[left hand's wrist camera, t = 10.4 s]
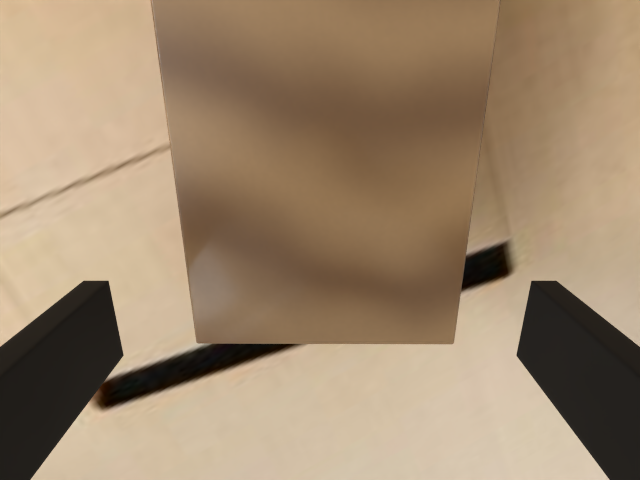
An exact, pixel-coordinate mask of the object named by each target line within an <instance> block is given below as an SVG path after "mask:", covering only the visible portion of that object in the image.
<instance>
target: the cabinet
mask: <svg viewBox="0 0 640 480" xmlns="http://www.w3.org/2000/svg"><path fill="white" fill-rule="evenodd" d="M500 1H501V0H151V6H152V13H153V21H154V28H155V36H156V43H157V51H158V58H159V65H160V73H161V80H162V88H163V95H164V103H165V110H166V118H167V125H168V133H169V140H170V148H171V155H172V163H173V170H174V178H175V185H176V192H177V200H178V207H179V215H180V222H181V230H182V237H183V245H184V252H185V260H186V267H187V275H188V282H189V290H190V297H191V305H192V312H193V319H194V327H195V334H196V342H197V343H241V344H453V343H454V338H455V330H456V323H457V316H458V308H459V301H460V294H461V286H462V279H463V272H464V264H465V257H466V250H467V242H468V235H469V228H470V220H471V213H472V206H473V199H474V191H475V184H476V177H477V169H478V162H479V155H480V147H481V140H482V133H483V125H484V118H485V111H486V103H487V96H488V89H489V81H490V74H491V67H492V59H493V52H494V45H495V37H496V30H497V23H498V15H499V8H500Z"/></svg>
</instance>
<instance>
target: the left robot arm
mask: <svg viewBox="0 0 640 480" xmlns="http://www.w3.org/2000/svg"><path fill="white" fill-rule="evenodd" d="M122 357H123V351H122V346H121V341H120V336H119V331H118V326H117V321H116V316H115V311H114V306H113V301H112V296H111V291H110V286H109V281H83V282H82V283H80V284H79V285H78V286H77V287H75V288H74V289H73V290H72V291H70V292H69V293H68V294H67V295H65V296H64V297H63V298H61V299H60V300H59V301H58V302H56V303H55V304H54V305H53V306H51V307H50V308H49V309H48V310H46V311H45V312H44V313H43V314H41V315H40V316H39V317H37V318H36V319H35V320H34V321H32V322H31V323H30V324H29V325H27V326H26V327H25V328H24V329H22V330H21V331H20V332H19V333H17V334H16V335H15V336H14V337H12V338H11V339H10V340H8V341H7V342H6V343H5V344H3V345H2V346H1V347H0V480H30V479H31V478H32V477H33V475H34V474H35V473H36V471H37V470H38V469H39V467H40V466H41V465H42V463H43V462H44V461H45V459H46V458H47V457H48V455H49V454H50V453H51V451H52V450H53V449H54V447H55V446H56V445H57V443H58V442H59V441H60V439H61V438H62V437H63V435H64V434H65V433H66V431H67V430H68V429H69V427H70V426H71V425H72V423H73V422H74V421H75V419H76V418H77V417H78V415H79V414H80V413H81V411H82V410H83V409H84V407H85V406H86V405H87V403H88V402H89V401H90V399H91V398H92V397H93V395H94V394H95V393H96V391H97V390H98V389H99V387H100V386H101V385H102V383H103V382H104V381H105V379H106V378H107V377H108V375H109V374H110V373H111V371H112V370H113V369H114V367H115V366H116V365H117V363H118V362H119V361H120V359H121V358H122ZM517 357H518V358H519V359H520V361H521V362H522V363H523V365H524V366H525V367H526V369H527V370H528V371H529V373H530V374H531V375H532V377H533V378H534V379H535V381H536V382H537V383H538V385H539V386H540V387H541V389H542V390H543V391H544V393H545V394H546V395H547V397H548V398H549V399H550V401H551V402H552V403H553V405H554V406H555V407H556V409H557V410H558V411H559V413H560V414H561V415H562V417H563V418H564V419H565V421H566V422H567V423H568V425H569V426H570V427H571V429H572V430H573V431H574V433H575V434H576V435H577V437H578V438H579V439H580V441H581V442H582V443H583V445H584V446H585V447H586V449H587V450H588V451H589V453H590V454H591V455H592V457H593V458H594V459H595V461H596V462H597V463H598V465H599V466H600V467H601V469H602V470H603V471H604V473H605V474H606V475H607V477H608V478H609V479H610V480H640V347H639V346H638V345H637V344H635V343H634V342H633V341H632V340H630V339H629V338H628V337H626V336H625V335H624V334H623V333H621V332H620V331H619V330H618V329H616V328H615V327H614V326H613V325H611V324H610V323H609V322H608V321H606V320H605V319H604V318H602V317H601V316H600V315H599V314H597V313H596V312H595V311H594V310H592V309H591V308H590V307H589V306H587V305H586V304H585V303H584V302H582V301H581V300H580V299H579V298H577V297H576V296H575V295H573V294H572V293H571V292H570V291H568V290H567V289H566V288H565V287H563V286H562V285H561V284H560V283H558V282H557V281H531V286H530V291H529V296H528V301H527V306H526V311H525V316H524V321H523V326H522V331H521V336H520V341H519V346H518V351H517Z"/></svg>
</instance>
